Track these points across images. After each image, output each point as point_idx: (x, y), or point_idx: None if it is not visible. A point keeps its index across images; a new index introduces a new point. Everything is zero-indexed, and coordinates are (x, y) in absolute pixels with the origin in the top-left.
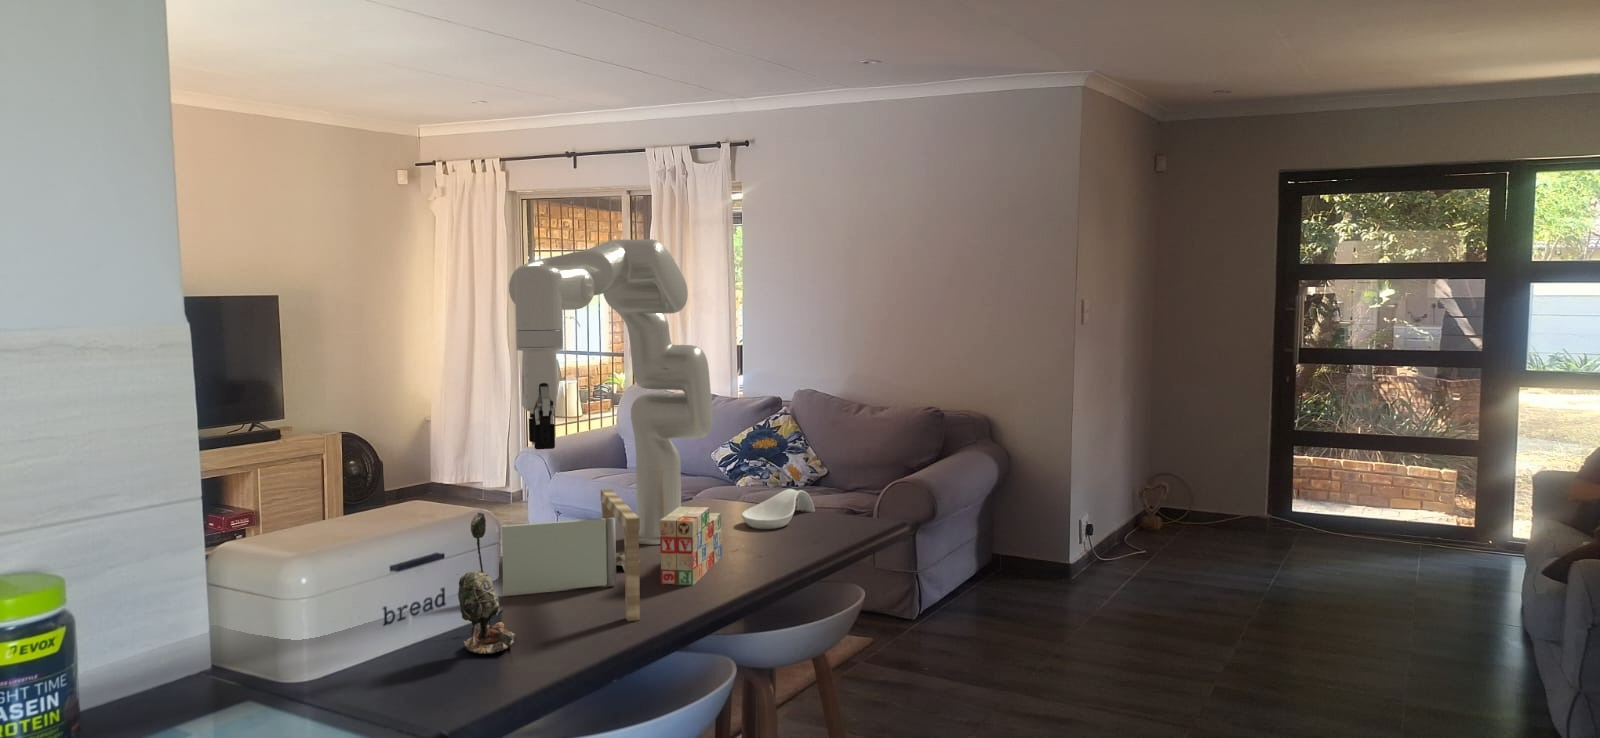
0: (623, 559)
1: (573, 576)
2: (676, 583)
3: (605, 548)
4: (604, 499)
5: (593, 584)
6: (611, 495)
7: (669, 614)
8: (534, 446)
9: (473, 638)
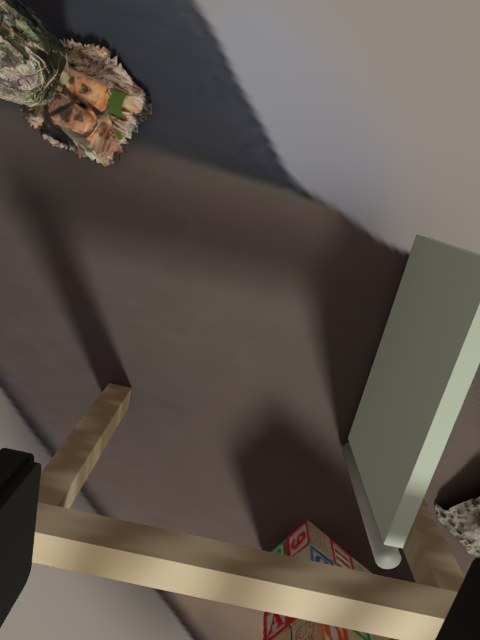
0: (476, 528)
1: (373, 389)
2: (285, 540)
3: (365, 487)
4: (418, 597)
5: (356, 416)
6: (379, 619)
7: (116, 455)
8: (21, 458)
9: None
